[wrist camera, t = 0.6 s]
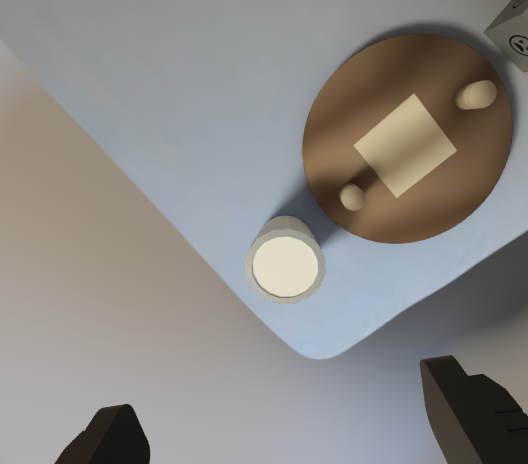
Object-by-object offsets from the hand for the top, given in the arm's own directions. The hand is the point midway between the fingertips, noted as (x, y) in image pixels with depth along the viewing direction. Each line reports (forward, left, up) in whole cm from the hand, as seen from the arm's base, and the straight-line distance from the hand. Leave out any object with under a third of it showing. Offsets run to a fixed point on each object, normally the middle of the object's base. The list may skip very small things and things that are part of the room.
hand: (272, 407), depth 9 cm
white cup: (+4, +1, -26) cm, 26 cm away
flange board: (-6, +11, -26) cm, 28 cm away
